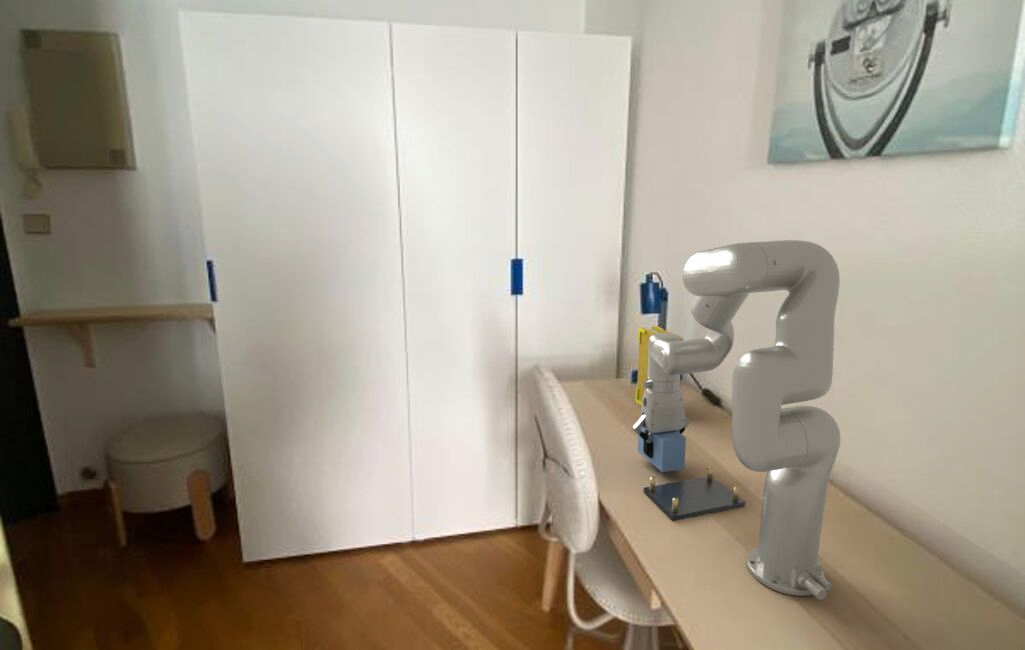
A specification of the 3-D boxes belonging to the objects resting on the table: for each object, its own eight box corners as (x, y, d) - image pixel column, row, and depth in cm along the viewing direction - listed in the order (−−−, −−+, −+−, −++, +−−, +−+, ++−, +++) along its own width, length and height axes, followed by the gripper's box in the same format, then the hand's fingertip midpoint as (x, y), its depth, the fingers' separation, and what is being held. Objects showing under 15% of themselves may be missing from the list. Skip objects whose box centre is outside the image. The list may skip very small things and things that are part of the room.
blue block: (684, 468, 132) (685, 437, 130) (662, 472, 130) (663, 440, 128) (658, 448, 143) (659, 419, 141) (637, 451, 141) (638, 422, 140)
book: (635, 401, 181) (638, 328, 175) (653, 398, 183) (656, 326, 177) (663, 420, 166) (668, 340, 160) (682, 417, 167) (688, 338, 162)
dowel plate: (744, 506, 120) (746, 489, 119) (672, 521, 115) (673, 503, 114) (710, 480, 131) (712, 464, 130) (643, 492, 126) (644, 475, 125)
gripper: (638, 393, 126) (636, 465, 130) (703, 385, 131) (699, 455, 135) (623, 383, 134) (621, 452, 137) (685, 376, 138) (682, 443, 142)
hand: (660, 453), depth 136 cm, fingers closed on blue block, 6 cm apart
